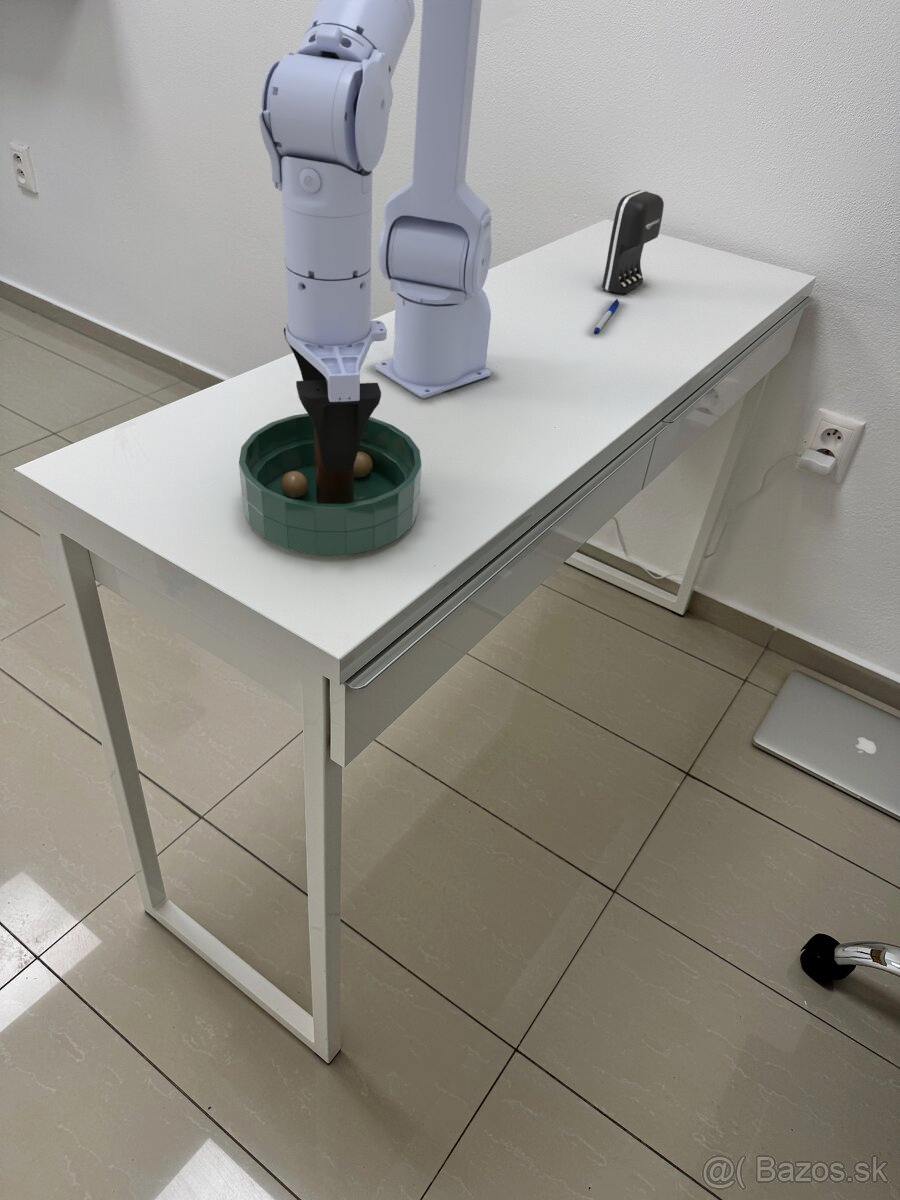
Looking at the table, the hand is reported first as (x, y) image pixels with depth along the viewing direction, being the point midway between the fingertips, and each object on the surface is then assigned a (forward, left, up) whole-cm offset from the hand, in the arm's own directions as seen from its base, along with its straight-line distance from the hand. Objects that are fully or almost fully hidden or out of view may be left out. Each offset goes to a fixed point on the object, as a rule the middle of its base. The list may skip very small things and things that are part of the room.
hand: (331, 441), depth 67 cm
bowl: (0, 0, -6) cm, 6 cm away
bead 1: (+2, -2, -5) cm, 6 cm away
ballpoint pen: (-50, -14, -7) cm, 52 cm away
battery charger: (-60, -19, -6) cm, 63 cm away
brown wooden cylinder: (0, 0, -6) cm, 6 cm away
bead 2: (-4, -2, -5) cm, 6 cm away
